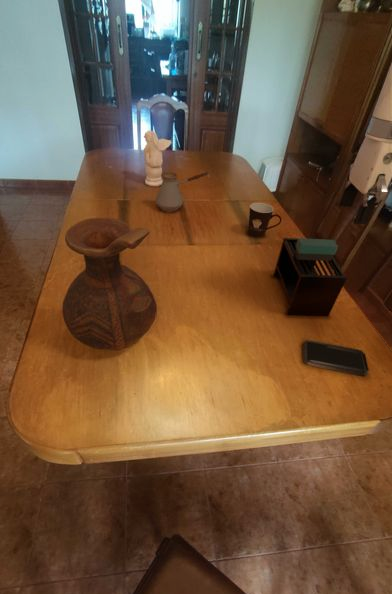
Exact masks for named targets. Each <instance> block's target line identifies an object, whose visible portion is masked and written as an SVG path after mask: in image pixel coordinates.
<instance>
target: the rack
mask: <svg viewBox="0 0 392 594" xmlns="http://www.w3.org/2000/svg"><path fill="white" fill-rule="evenodd" d="M297 240H298V238H296V237H295V238H293V237H283V240H282V243H281V246H280V249H279V253H278V257H277V261H276V264H275V268H274V271H273V274H272V276H273V278H280V280H281V282H282V285H283V288H284V290H285V293H286V296H287V299H288V302H289V305H288V308H287V310H286V315H287V316H298V317H299V316H300V317H329V316H330V314H331V312H332V310H333V308H334V306H335V304H336V302H337V299H338V297H339V295H340V293H341V291H342V290H343V288H344V285H345V283H346V282H347V279H348V278H347V276H346V275H345V273H344V272H343V271H342V269H341V267H340V265H339V264H338V262H337V261H336V259H335V258H334V256H333V257H332V259H331V261H318V260H297V258H296V256H295V251H296V247H295V246H296V243H297ZM322 262H323V263H322ZM327 262H328V263H327ZM323 264H324V265H323ZM328 264H329V265H330V266H329V265H328ZM319 266H320V267H319ZM325 267H326V268H325ZM330 267H331V268H330ZM320 268H321V269H320ZM326 269H327V270H326ZM331 269H332V270H331ZM321 270H322V271H323V273H324V274H323V273H322V271H321ZM327 271H328V272H329V274H328V272H327Z"/></svg>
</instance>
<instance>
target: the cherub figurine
mask: <svg viewBox="0 0 392 594" xmlns="http://www.w3.org/2000/svg"><path fill="white" fill-rule="evenodd" d="M143 138H144V139H145V142H146V144H145V146H144V148H143V154H144V156H143V160H144V165H145V166H144V173H145V175H146V176H145V179H144V183H145V185H147V186H150V187H160V186H161V184H162V182H163V178H162V176H161V174H162V173H163V168H162V166H163V159H164V158H163V151H166V150H167V148H169V147H170V146H171V144H172V140H170V139H166V138H158V134H157V133H156V132H155V131H154V130H147V131H146V132H144V136H143Z"/></svg>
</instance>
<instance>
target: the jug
mask: <svg viewBox="0 0 392 594" xmlns="http://www.w3.org/2000/svg"><path fill="white" fill-rule="evenodd" d="M66 230H67V231H66V232H65V235H64V241H65V243H66V246H67V247H68V248H69V249H70V250H71V251H73V252H75V253H76V254H80V255H82V256H83V258H84V263H85V264H84V265H85V267H84V269H83V270H82V271H81V272H79V274H78V275H77V276H75V278H74V279H73V280H72V282H71V283H70V285H69V287H68V288H67V291H66V293H65V295H64V298H63V301H62V310H61V312H62V317H63V322H64V323H65V325H66V327H67V329H68V331H69V332H70V334H71V335H72V336H73V338H75V339H76V340H78V341H79V342H80V343H82V344H84V345H85V346H87V347H89V348H92V349H97V350H102V351H103V350H104V351H116V350H122V349H125V348H128V347H130V346H132V345H133V344H134V343H136V342H137V341H139V340H140V339H141V338H142V337H143V336H144V335H146V334H147V332H148V331H149V330H150V329H151V327H152V325H153V324H154V322H155V320H156V317H157V311H158V308H157V307H158V306H157V302H156V300H155V297H154V294H153V292H152V290H151V289H150V286H148V284H147V283H146V282H145V281H144V279H143V278H142V277H141V276H140V275H139V274H138V273H137V272H136V271H134V270H133V269H131V268H130V267H128V266H127V265H124V264H121V261H120V257H121V256H120V255H121V253H122V252H123V251H125V250H127V249H129V250H134V249H136V248H137V247H139V245H140V244H141V243H142V241H144V240H145V238H146V237H148V236H149V235H150V230H149V229H148V228H147V227H139V228H135V229H132V228H131V227H130V225H128V224H127V222H124V221H122V220H119V219H116V218H111V217H92V218H86V219H82V220H80V221H78V222H76V223H75V224H73V225H71V226H70V227H69V228H68V229H66Z"/></svg>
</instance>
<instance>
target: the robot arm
mask: <svg viewBox="0 0 392 594" xmlns="http://www.w3.org/2000/svg"><path fill="white" fill-rule="evenodd" d="M383 82H384V83H383V85H382V88H381V90H380V93H379V96H378V99H377V101H376V103H375V106H374V109H373V112H372V115H371V118H370V121H369V123H368V125H367V128H366V131H365V134H364V139H363V141H362V143H361V145H360V147H359V150H358V152H357V154H356V157H355V159H354V161H353V163H351V164H350V167H349V172H348V175H347V181H346V183H345V185H344V189H343V190H344V191H343V193H342V196H341V198H340V201H339V207H349V208H351V207H352V206H353V205H354V202H355V200H356V197H357V195H358V193H359V192H360V193H361V194H362V195H363V197H362V199H363V201H362V204H360V205H359V208H358V209H357V212H356V215H355V217H354V219H353V223H354V225H368V224H369V223H370V220H371V218H372V215H373V214H374V210H375V209H376V208H378V205H379V204H381V203H382V201H383V200H384V198H385V197H386V196H387V195H388V188H389V185H390V183H391V181H392V63H391V64H390V66H389V69H388V72H387V75H386V77H385V79H384V81H383ZM370 196H371V198H370Z"/></svg>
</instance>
